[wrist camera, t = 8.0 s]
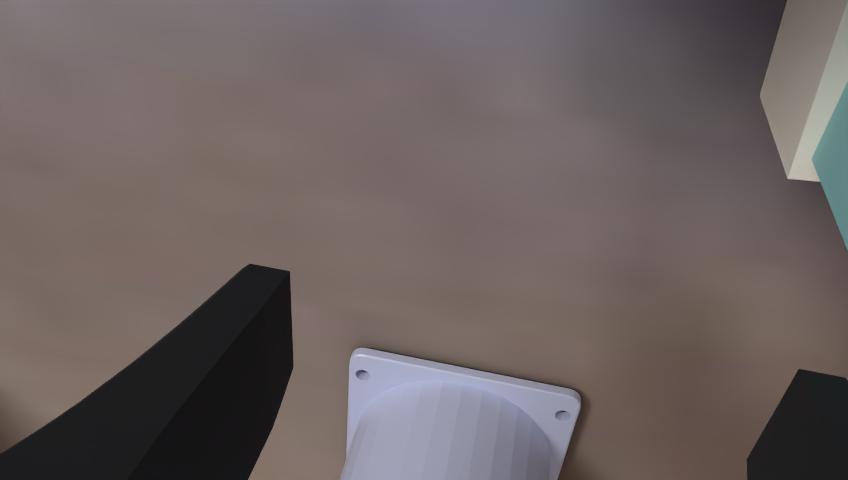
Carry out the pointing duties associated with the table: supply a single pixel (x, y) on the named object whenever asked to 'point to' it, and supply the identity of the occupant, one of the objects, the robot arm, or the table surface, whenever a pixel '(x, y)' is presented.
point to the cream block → (805, 80)
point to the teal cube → (835, 163)
